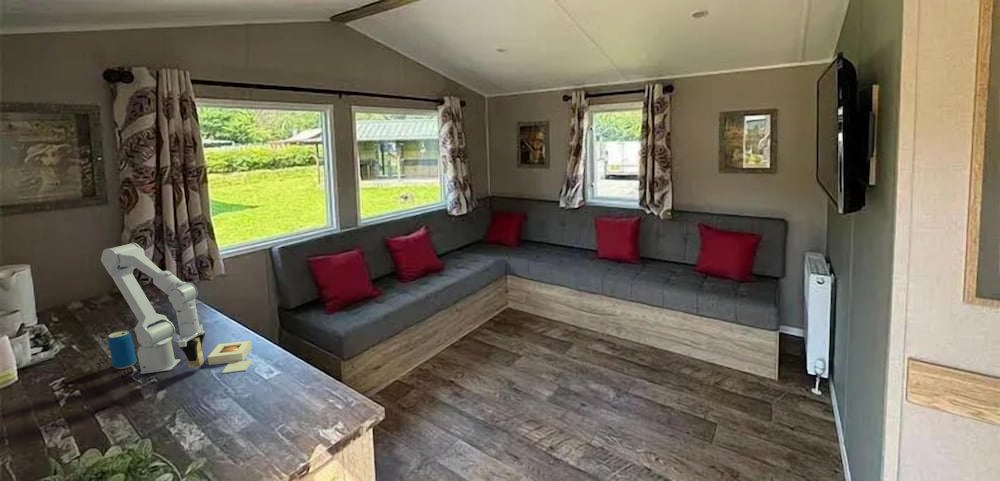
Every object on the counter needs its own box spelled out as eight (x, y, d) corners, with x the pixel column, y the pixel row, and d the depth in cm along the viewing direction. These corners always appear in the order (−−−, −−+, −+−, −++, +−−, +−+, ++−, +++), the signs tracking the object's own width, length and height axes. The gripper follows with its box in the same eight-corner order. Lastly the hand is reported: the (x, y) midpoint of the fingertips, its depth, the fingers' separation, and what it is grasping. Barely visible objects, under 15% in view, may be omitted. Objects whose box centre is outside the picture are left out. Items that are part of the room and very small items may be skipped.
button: (220, 357, 171) (220, 353, 171) (225, 351, 176) (225, 347, 176) (236, 355, 172) (235, 351, 172) (240, 349, 177) (239, 345, 177)
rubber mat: (221, 373, 162) (221, 372, 161) (229, 363, 169) (229, 362, 169) (246, 370, 163) (245, 369, 163) (252, 360, 170) (252, 359, 170)
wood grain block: (188, 367, 162) (183, 342, 160) (192, 362, 166) (188, 338, 164) (200, 366, 163) (195, 341, 161) (204, 361, 166) (199, 337, 164)
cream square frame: (208, 365, 168) (207, 357, 168) (220, 351, 179) (218, 344, 178) (243, 361, 170) (241, 353, 170) (252, 347, 181) (250, 340, 180)
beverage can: (141, 362, 172) (134, 331, 170) (122, 371, 166) (115, 338, 164) (128, 360, 174) (121, 329, 172) (109, 368, 168) (102, 336, 166)
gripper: (192, 327, 155) (199, 366, 158) (209, 311, 169) (215, 347, 172) (168, 329, 153) (175, 369, 156) (187, 313, 167) (193, 349, 170)
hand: (195, 357), depth 164 cm, fingers closed on wood grain block, 3 cm apart
